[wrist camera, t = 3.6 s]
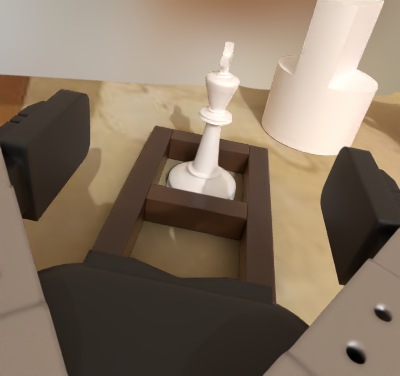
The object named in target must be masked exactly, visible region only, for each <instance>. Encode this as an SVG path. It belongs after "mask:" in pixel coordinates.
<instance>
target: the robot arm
mask: <svg viewBox="0 0 400 376" xmlns="http://www.w3.org/2000/svg"><path fill="white" fill-rule="evenodd" d="M89 146H90V108H89V98H88V95H87V94H84V93H79V92H74V91H69V90H64V89H61V90H60V91H58V92H57V93H56V94H55V95H53V96H52V97H51V98H50V99H48V100H47V101H46V102H45V101H42V102H39V103H36V104H33V105H30V106H27V107H26V108H25V109H23V110H22V111H21V112H20V113H18V116H17V115H16V116H14V117H13V118H12V119H10V122H6V123H5V124H4V125H2V126H1V127H0V376H400V189H399V188H398V186H397V184H396V182H395V181H394V180H393V179H392V178H391V177H390V176H389V175H388V174H387V173H386V172H384V171H383V170H381V169H379V168H378V166H377V164H376V162H375V160H374V159H373V157H372V155H371V153H370V152H369V151H366V150H361V149H356V148H351V147H346V146H344V147H342V148H341V150H340V151H339V153H338V155H337V158H336V160H335V162H334V164H333V167H332V169H331V171H330V173H329V176H328V178H327V180H326V182H325V185H324V187H323V190H322V194H321V202H320V203H321V209H322V214H323V218H324V222H325V226H326V230H327V235H328V239H329V243H330V247H331V251H332V256H333V260H334V264H335V268H336V273H337V277H338V281H339V284H340V285H345V286H344V287H343V289H342V290H341V291H340V292H339V293H338V294H337V295H336V297H335V298H334V299H333V300H332V301H331V302H330V304H329V305H328V306H327V307H326V308H325V309H324V310H323V312H322V313H321V314H320V315H319V316H318V317H317V319H316V320H315V321H314V322H313V323H312V324H311V325H310V327H309V326H308V325H307V324H306V323H305V322H304V321H303V320H302V319H300V318H299V317H298V316H296V315H295V314H294V313H292V312H291V311H289V310H288V309H286V308H284V307H282V306H280V305H279V304H276V303H274V302H273V301H272V287H271V286H266V285H261V284H256V283H251V282H246V281H241V280H236V279H232V278H180V277H176V276H173V275H171V274H169V273H166V272H164V271H162V270H159V269H157V268H155V267H153V266H150V265H148V264H146V263H143V262H141V261H139V260H137V259H134V258H129V257H124V256H120V255H115V254H110V253H105V252H100V251H95V250H89V252H88V254H87V256H86V258H85V260H84V262H83V263H71V264H63V265H58V266H53V267H50V268H47V269H43V270H40V271H38V272H37V270H36V267H35V263H34V259H33V256H32V252H31V249H30V245H29V241H28V238H27V234H26V231H25V227H24V223H23V220H22V218H23V219H28V220H33V221H38V220H39V218H40V217H41V216H42V214H43V213H44V212H45V210H46V209H47V208H48V206H49V205H50V204H51V202H52V201H53V200H54V199H55V197H56V196H57V195H58V193H59V192H60V191H61V189H62V188H63V187H64V185H65V184H66V183H67V181H68V180H69V179H70V177H71V176H72V175H73V173H74V172H75V171H76V169H77V168H78V167H79V166H80V164H81V163H82V162H83V160H84V159H85V157H86V156H87V153H88V150H89Z"/></svg>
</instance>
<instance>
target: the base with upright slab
mask: <svg viewBox="0 0 400 376" xmlns="http://www.w3.org/2000/svg"><path fill="white" fill-rule="evenodd" d="M383 3H384V1H382V0H318V1H317V4H316V7H315V11H314V14H313V17H312V20H311V23H310V26H309V29H308V33H307V36H306V39H305V42H304V45H303V49H302V52H301V55H289V56H285V57H282V58H280V59H279V61H278V64H277V68H276V72H275V75H274V79H273V82H272V86H271V89H270V93H269V96H268V100H267V103H266V107H265V110H264V114H263V117H262V122H261V124H262V126H263V129H264V130H265V131H266V132H267V133H268V134H269V135H270V136H271V137H273V138H274V139H275V140H277V141H279V142H280V143H282V144H284V145H286V146H288V147H291V148H294V149H296V150H299V151H302V152H306V153H310V154H316V155H324V156H327V155H338V153H339V151H340V150H341V148H342V147H344V146H346V147H351V144H352V142H353V140H354V138H355V136H356V134H357V131H358V129H359V127H360V125H361V123H362V121H363V119H364V116H365V114H366V112H367V110H368V108H369V106H370V103H371V101H372V99H373V97H374V95H375V93H376V91H377V88H378V84H377V83H376V81H375V80H373V79H372V78H371V77H370V76H368V75H366V74H365V73H363V72H361V71H359V70H357V66H358V64H359V61H360V59H361V57H362V54H363V52H364V49H365V47H366V45H367V42H368V40H369V37H370V35H371V32H372V30H373V28H374V25H375V23H376V20H377V18H378V16H379V13H380V11H381V8H382V6H383Z"/></svg>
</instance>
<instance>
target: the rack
mask: <svg viewBox="0 0 400 376" xmlns="http://www.w3.org/2000/svg"><path fill="white" fill-rule="evenodd" d="M202 136H203V135H199V134H194V133H189V132H184V131H179V130H174V129H169V128H164V127H160V126H155V127H154V129H153V131H152V133H151V135H150V137H149V139H148V141H147V143H146V145H145V147H144V149H143V151H142V153H141V155H140V157H139V158H138V160H137V162H136V164H135V166H134V168H133V170H132V172H131V174H130V176H129V178H128V180H127V182H126V184H125V186H124V188H123V189H122V191H121V193H120V195H119V197H118V199H117V201H116V203H115V205H114V207H113V209H112V211H111V213H110V215H109V217H108V219H107V221H106V222H105V224H104V226H103V228H102V230H101V232H100V234H99V236H98V238H97V240H96V242H95V244H94V246H93V248H92V250H95V251H100V252H105V253H110V254H115V255H120V256H124V257H130V254H131V251H132V249H133V246H134V244H135V241H136V239H137V236H138V233H139V231H140V228H141V226H142V223H143V220H145V221H150V222H155V223H160V224H165V225H170V226H175V227H179V228H184V229H189V230H194V231H199V232H204V233H208V234H213V235H218V236H223V237H228V238H233V239H238V240H240V239H241V240H240V259H239V279H238V280H241V281H246V282H251V283H256V284H261V285H266V286H271V287H272V301H273V302H274V303H276V290H275V272H274V253H273V234H272V216H271V197H270V179H269V160H268V149H267V148H262V147H257V146H252V145H250V146H249V145H248V144H243V143H238V142H233V141H228V140H224V139H220V141H219V153H218V166H219V167H221V168H223V169H224V170H229V171H234V172H239V173H244V180H243V200H242V202H239V201H234V200H230V199H225V198H220V197H215V196H210V195H205V194H200V193H195V192H191V191H186V190H181V189H176V188H171V187H166V186H161V185H157V184H158V182H159V179H160V177H161V174H162V172H163V169H164V166H165V164H166V161H167V159H168V158H171V159H176V160H180V161H185V162H189V161H194V160H195V157H196V154H197V151H198V148H199V145H200V142H201V139H202Z"/></svg>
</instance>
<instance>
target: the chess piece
mask: <svg viewBox="0 0 400 376" xmlns="http://www.w3.org/2000/svg"><path fill="white" fill-rule="evenodd" d="M233 47H234V43H232V42H226V44H225V48H224V53H223V56H222V57H221V62H220V66H221V69H220V71H212V72H210V73H208V74H207V75H206V86H207V91H208V101H209V106H207V107H203V108H201V109H200V112H199V113H198V116H199V118H200V119H201V120H202V121H204V122H206V126H205V129H204V132H203V136H202V139H201V142H200V145H199V148H198V151H197V154H196V157H195V160H194V161H189V162H184V163H181V164H178V165H177V166H175V167H174V168H173V169H172V170H171V171H170V173H169V176H168V179H167V182H166V186H167V187H171V188H176V189H181V190H186V191H191V192H195V193H200V194H205V195H210V196H215V197H220V198H225V199H230V200H234V198H235V190H236V184H235V181H234V179H233V177H232V176H231V175H230V174H229V173H228V172H227V171H226V170H224V169H223V168H221V167H219V166H218V153H219V141H220V132H221V126H224V125H228V124H230V123H231V122H232V115H231V113H230V112H229V111H227V110H226V109H225V108H226V107H227V105H228V104H229V102H230V100H231V98H232V96H233V94H234V93H235V92H236V90H237V88H238V87H239V84H240V81H239V79H238V78H237V77H236V76H235V75H233V74H231V73H229V67H230V62H231V60H232V57H233V53H234V52H233Z"/></svg>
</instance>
